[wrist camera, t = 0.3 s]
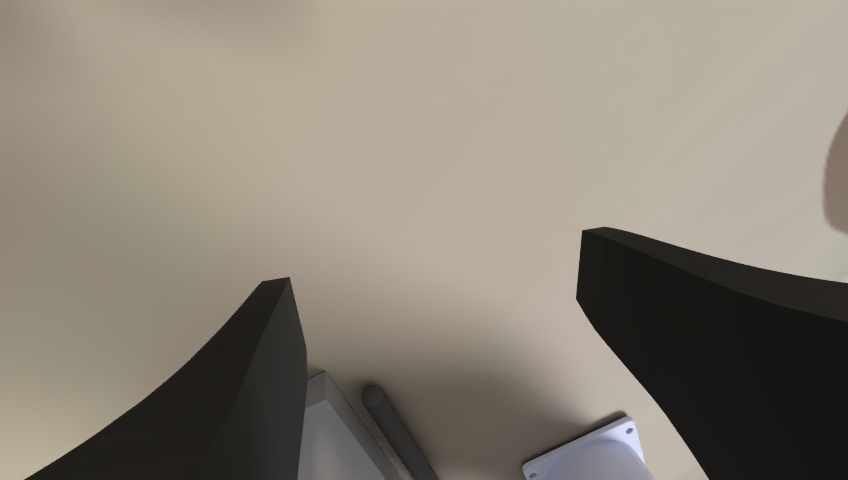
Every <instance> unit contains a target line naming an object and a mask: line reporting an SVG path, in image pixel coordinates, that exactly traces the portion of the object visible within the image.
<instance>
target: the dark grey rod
mask: <svg viewBox="0 0 848 480" xmlns="http://www.w3.org/2000/svg"><path fill="white" fill-rule="evenodd" d="M362 401H363V404H364V406H365V407H366V408H367V410H368V411H369V413H370V414H371V416H372V417H373V419H374V420H375V422H376V423H377V425H378V426H379V427H380V429H381V430H382V432H383V433H384V435H385V436H386V438H387V439H388V441H389V442H390V444H391V445H392V446H393V448H394V449H395V451H396V452H397V454H398V455H399V457H400V458H401V460H402V461H403V463H404V464H405V465H406V467H407V468H408V470H409V471H410V473H411V474H412V476H413V477H414V479H415V480H439V478H438V477H437V475H436V473H435V472H434V470H433V469H432V467H431V466H430V464H429V462H428V461H427V459H426V458H425V456H424V455H423V453H422V452H421V450H420V448H419V447H418V445H417V444H416V442H415V441H414V439H413V437H412V436H411V434H410V433H409V431H408V430H407V428H406V427H405V425H404V423H403V422H402V420H401V419H400V417H399V416H398V414H397V412H396V411H395V409H394V408H393V406H392V405H391V403H390V402H389V400H388V398H387V397H386V395H385V394H384V392H383V391H382V389H380V388H379V387H377V386H371V387H369V388H367V389H366V390H365V391H364V393H363V395H362Z"/></svg>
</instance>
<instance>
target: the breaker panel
mask: <svg viewBox="0 0 848 480" xmlns="http://www.w3.org/2000/svg"><path fill="white" fill-rule="evenodd" d="M297 480H403V479H402V478H401V476H400V475H399V474H398V472H397V471H396V469H395V468H394V467H393V465H392V464H391V462H390V461H389V460H388V458H387V457H386V455H385V454H384V452H383V451H382V450H381V448H380V447H379V445H378V444H377V443H376V441H375V440H374V438H373V437H372V435H371V434H370V433H369V431H368V430H367V428H366V427H365V426H364V424H363V423H362V421H361V420H360V419H359V417H358V416H357V414H356V413H355V411H354V410H353V409H352V407H351V406H350V404H349V403H348V402H347V400H346V399H345V397H344V396H343V394H342V393H341V392H340V390H339V389H338V387H337V386H336V385H335V383H334V382H333V380H332V379H331V378H330V376H329V375H328V373H327V372H326V371H325V372H322V373H320V374H318V375H316V376H314V377H312V378H310V379H307V394H306V404H305V414H304V423H303V432H302V441H301V450H300V460H299V469H298V479H297Z"/></svg>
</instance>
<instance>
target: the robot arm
mask: <svg viewBox="0 0 848 480" xmlns="http://www.w3.org/2000/svg"><path fill="white" fill-rule="evenodd" d="M576 300H577V301H578V303H579V305H580V306H581V308H582V310H583V312H584V313H585V315H586V317H587V318H588V320H589V321H590V323H591V324H592V326H593V327H594V329H595V330H596V332H597V333H598V334H599V335H600V336H601V338H602V339H603V340H604V341H605V343H606V344H607V345H608V346H609V347H610V348H611V350H612V351H613V352H614V353H615V354H616V356H617V357H618V358H619V359H620V360H621V361H622V363H623V364H624V365H625V366H626V367H627V368H628V370H629V371H630V372H631V373H632V374H633V375H634V377H635V378H636V379H637V380H638V381H639V382H640V384H641V385H642V386H643V387H644V388H645V389H646V391H647V392H648V393H649V394H650V395H651V396H652V398H653V399H654V400H655V401H656V403H657V404H658V405H659V407H660V408H661V409H662V410H663V412H664V413H665V414H666V416H667V417H668V419H669V420H670V421H671V423H672V424H673V426H674V427H675V429H676V430H677V432H678V433H679V434H680V436H681V437H682V439H683V440H684V442H685V443H686V445H687V446H688V448H689V449H690V450H691V452H692V454H693V455H694V457H695V458H696V460H697V461H698V463H699V464H700V466H701V468H702V469H703V471H704V472H705V474H706V475H707V477H708V478H709V480H848V283H842V282H835V281H828V280H821V279H815V278H809V277H803V276H797V275H792V274H787V273H782V272H777V271H772V270H767V269H762V268H757V267H753V266H749V265H744V264H740V263H736V262H733V261H729V260H725V259H721V258H717V257H713V256H710V255H706V254H702V253H699V252H695V251H692V250H689V249H685V248H682V247H678V246H675V245H672V244H668V243H665V242H662V241H658V240H655V239H652V238H648V237H645V236H642V235H638V234H635V233H631V232H627V231H623V230H619V229H615V228H609V227H600V228H594V229H588V230H582V239H581V250H580V261H579V272H578V283H577V294H576ZM306 394H307V354H306V345H305V340H304V336H303V332H302V328H301V323H300V319H299V315H298V311H297V306H296V302H295V298H294V294H293V289H292V285H291V281H290V277H287V278H280V279H274V280H268V281H262V282H261V283H260V284H259V285H258V286H257V288H256V289H255V290H254V291H253V292H252V293H251V295H250V296H249V297H248V298H247V299H246V301H245V302H244V303H243V304H242V305H241V306H240V308H239V309H238V310H237V311H236V312H235V313H234V314H233V315H232V317H231V318H230V319H229V320H228V321H227V322H226V323H225V324H224V326H223V327H222V328H221V329H220V330H219V331H218V332H217V333H216V334H215V335H214V336H213V337H212V338H211V339H210V340H209V341H208V342H207V343H206V344H205V345H204V346H203V347H202V348H201V349H200V350H199V351H198V352H197V353H196V354H195V355H194V356H193V357H192V358H191V359H190V360H189V361H188V362H187V363H186V364H185V365H184V366H183V367H182V368H180V369H179V370H178V371H177V372H176V373H175V374H174V375H173V376H171V377H170V378H169V379H168V380H167V381H166V382H164V383H163V384H162V385H161V386H159V387H158V388H157V389H156V390H155V391H153V392H152V393H151V394H150V395H149V396H147V397H146V398H145V399H144V400H142V401H141V402H140V403H138V404H137V405H136V406H134V407H133V408H131V409H130V410H129V411H127V412H126V413H124V414H123V415H122V416H120V417H119V418H118V419H116V420H115V421H113V422H112V423H111V424H109V425H108V426H107V427H105V428H104V429H102V430H101V431H100V432H98V433H97V434H95V435H94V436H93V437H91V438H90V439H88V440H87V441H85V442H84V443H82V444H81V445H79V446H77V447H76V448H74V449H73V450H71V451H70V452H68V453H67V454H65V455H64V456H62V457H60V458H59V459H57V460H56V461H54V462H52V463H51V464H49V465H48V466H46V467H44V468H43V469H41V470H39V471H38V472H36V473H34V474H33V475H31V476H30V477H28V478H26V479H25V480H297V479H298V469H299V460H300V450H301V441H302V432H303V423H304V414H305V404H306ZM522 471H523V473H524V475H525V477H526V480H656V479H655V478H654V476H653V475H652V473H651V472H650V471H649V469H648V468H647V467H646V465H645V461H644V457H643V453H642V449H641V445H640V441H639V438H638V434H637V430H636V426H635V422H634V421H633V419H632V418H631V417H623V418H621V419H619V420H617V421H615V422H613V423H610V424H608V425H606V426H604V427H602V428H600V429H598V430H595V431H593V432H591V433H589V434H587V435H585V436H583V437H580V438H578V439H576V440H574V441H572V442H570V443H568V444H565V445H563V446H561V447H559V448H557V449H555V450H553V451H550V452H548V453H546V454H544V455H542V456H540V457H537V458H535V459H533V460H531V461H529V462H527V463H525V464H524V465H523V467H522Z"/></svg>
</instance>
